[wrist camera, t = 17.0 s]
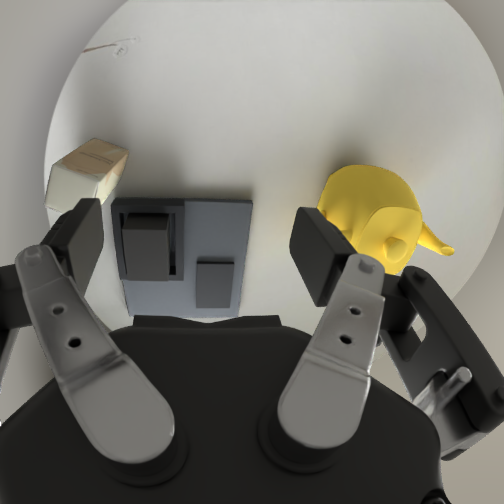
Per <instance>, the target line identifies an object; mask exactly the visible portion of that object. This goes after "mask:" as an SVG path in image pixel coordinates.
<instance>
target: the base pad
mask: <svg viewBox="0 0 504 504" xmlns="http://www.w3.org/2000/svg"><path fill="white" fill-rule="evenodd" d="M252 207H253V203H252V201H251V200H231V199H203V198H145V197H125V198H115V199H114V201H113V202H112V204H111V214H112V224H113V234H114V242H115V250H116V257H117V264H118V271H119V276H120V280H123V285H124V291H125V297H126V302H127V308H128V313H129V316H133V317H134V315H157V316H173V317H178V318H224V317H238V312H239V304H240V297H241V289H242V282H243V274H244V267H245V259H246V252H247V244H248V237H249V229H250V222H251V215H252ZM129 213H170V269H169V279H168V282H163V281H128V276H127V269H126V262H125V254H124V245H123V236H122V228H123V226H124V223H125V221H126V219H127V216H128V214H129Z"/></svg>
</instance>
